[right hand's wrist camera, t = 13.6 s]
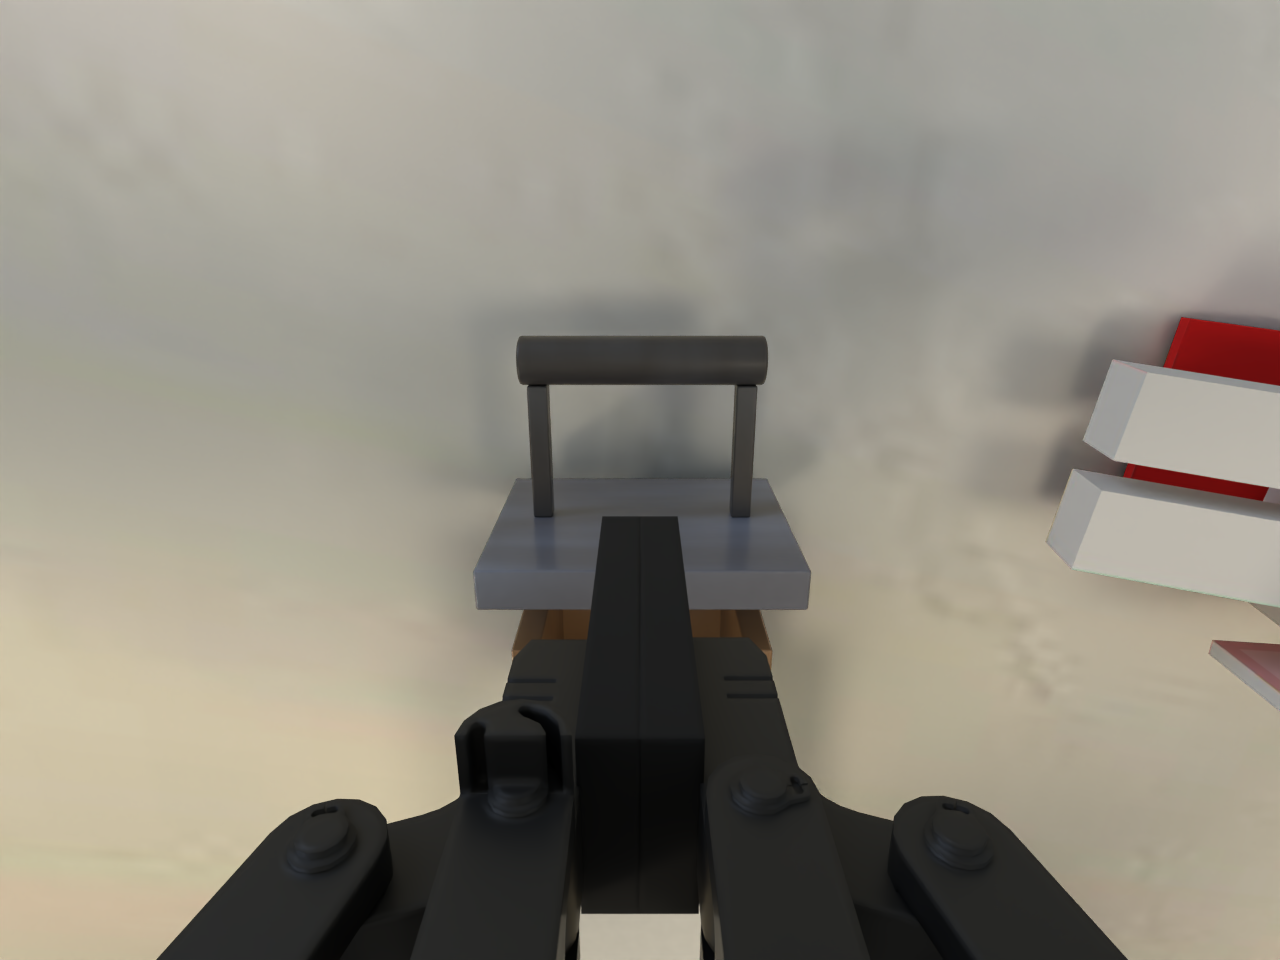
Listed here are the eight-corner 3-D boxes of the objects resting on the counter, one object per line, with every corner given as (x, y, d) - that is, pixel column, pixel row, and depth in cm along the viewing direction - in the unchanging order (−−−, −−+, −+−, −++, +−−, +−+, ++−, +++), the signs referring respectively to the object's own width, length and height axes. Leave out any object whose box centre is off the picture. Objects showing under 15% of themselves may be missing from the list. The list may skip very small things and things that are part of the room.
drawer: (506, 320, 25) (454, 361, 18) (777, 320, 25) (830, 362, 18) (536, 819, 32) (508, 986, 25) (746, 819, 32) (775, 986, 25)
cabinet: (517, 663, 30) (467, 845, 22) (766, 663, 30) (816, 844, 22) (536, 958, 36) (503, 1195, 27) (745, 958, 36) (779, 1195, 27)
